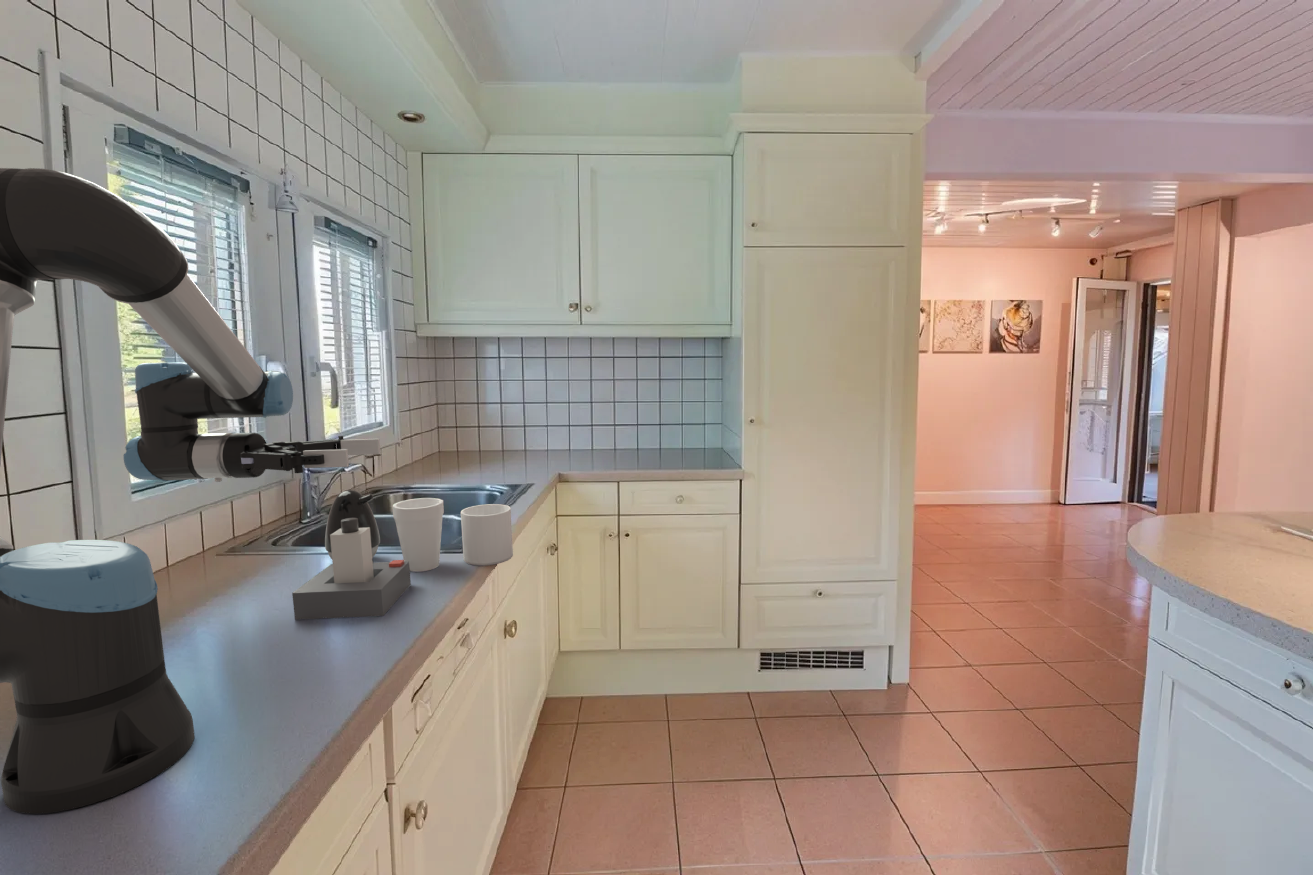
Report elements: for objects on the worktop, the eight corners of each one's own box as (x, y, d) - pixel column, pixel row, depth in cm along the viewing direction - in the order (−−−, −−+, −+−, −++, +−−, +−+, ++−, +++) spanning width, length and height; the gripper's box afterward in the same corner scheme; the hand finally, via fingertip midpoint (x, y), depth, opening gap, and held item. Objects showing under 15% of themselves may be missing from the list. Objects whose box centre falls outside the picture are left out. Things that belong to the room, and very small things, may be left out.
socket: (383, 615, 103) (380, 585, 103) (294, 619, 103) (291, 589, 102) (410, 584, 117) (408, 558, 117) (333, 587, 116) (330, 561, 116)
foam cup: (400, 561, 131) (396, 499, 129) (448, 556, 133) (444, 496, 131) (394, 576, 122) (389, 510, 120) (445, 571, 124) (441, 506, 122)
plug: (365, 596, 108) (359, 522, 106) (335, 597, 108) (328, 523, 106) (374, 587, 112) (368, 516, 110) (345, 589, 112) (339, 517, 110)
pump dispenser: (361, 571, 125) (355, 496, 123) (315, 569, 127) (308, 495, 125) (392, 555, 135) (387, 485, 133) (349, 553, 137) (343, 484, 135)
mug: (509, 564, 128) (507, 514, 126) (459, 567, 127) (455, 517, 125) (517, 545, 140) (515, 500, 139) (471, 548, 139) (468, 502, 138)
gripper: (275, 465, 118) (391, 462, 120) (185, 493, 94) (333, 488, 95) (271, 425, 118) (388, 422, 119) (180, 443, 93) (329, 438, 94)
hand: (364, 451), depth 107 cm, fingers open, 13 cm apart
